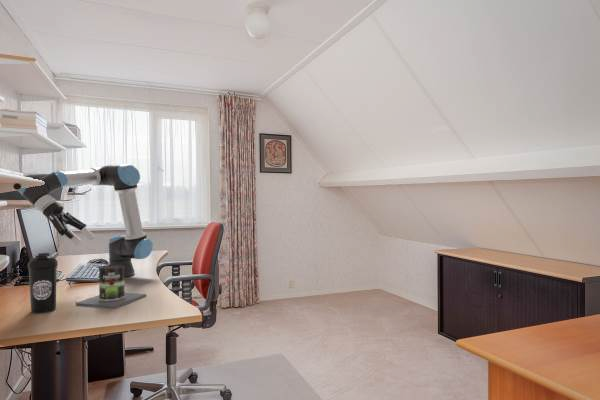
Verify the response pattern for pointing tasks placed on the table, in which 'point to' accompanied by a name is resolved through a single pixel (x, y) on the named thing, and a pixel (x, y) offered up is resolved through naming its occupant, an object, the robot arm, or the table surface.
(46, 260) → the water bottle
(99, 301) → the rubber mat
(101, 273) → the coffee can
